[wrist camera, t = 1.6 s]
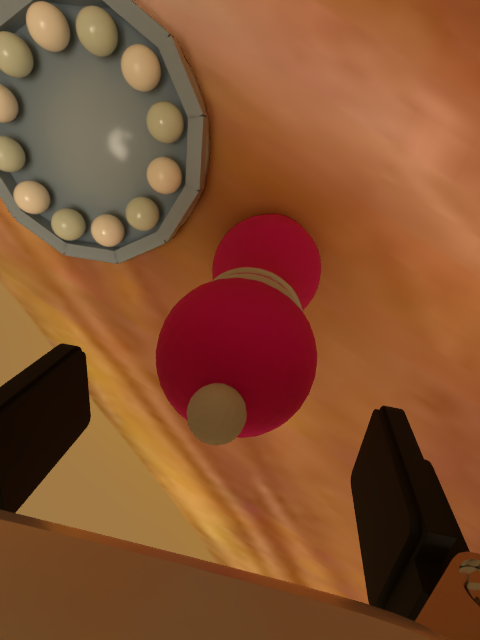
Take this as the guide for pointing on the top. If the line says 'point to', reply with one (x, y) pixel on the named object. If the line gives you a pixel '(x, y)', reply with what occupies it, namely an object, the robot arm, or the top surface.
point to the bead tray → (98, 127)
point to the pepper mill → (244, 334)
